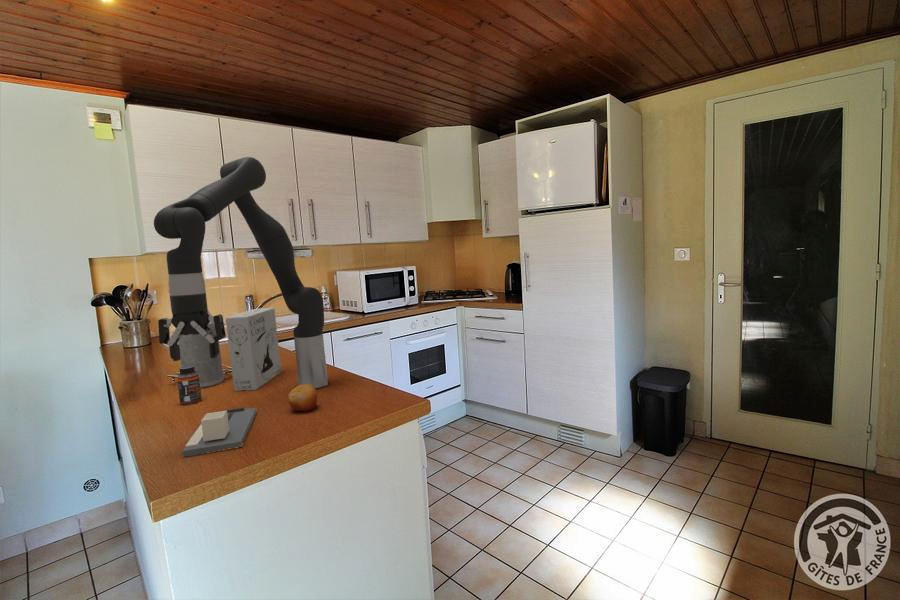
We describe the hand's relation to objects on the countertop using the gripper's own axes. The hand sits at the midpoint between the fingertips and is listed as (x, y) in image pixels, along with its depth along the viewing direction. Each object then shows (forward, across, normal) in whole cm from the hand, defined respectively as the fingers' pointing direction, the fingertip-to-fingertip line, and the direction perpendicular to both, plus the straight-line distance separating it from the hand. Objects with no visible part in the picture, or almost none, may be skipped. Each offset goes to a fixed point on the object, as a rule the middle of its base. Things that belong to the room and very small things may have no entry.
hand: (195, 358), depth 107 cm
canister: (+20, +23, -54) cm, 62 cm away
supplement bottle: (+20, +17, -32) cm, 41 cm away
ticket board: (+20, -4, -3) cm, 21 cm away
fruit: (+20, -21, -15) cm, 32 cm away
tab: (+18, -5, +4) cm, 19 cm away
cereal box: (+20, +2, -49) cm, 53 cm away
